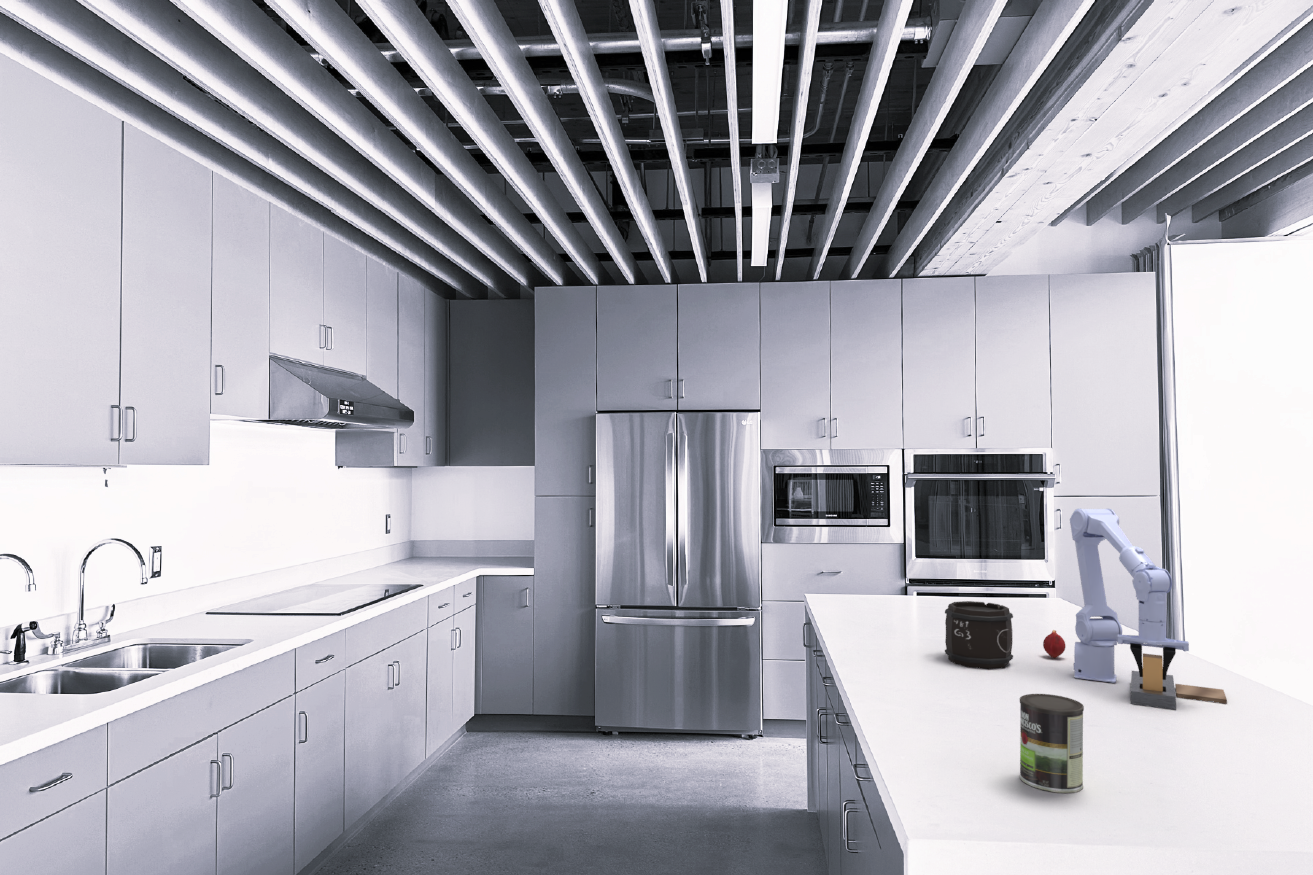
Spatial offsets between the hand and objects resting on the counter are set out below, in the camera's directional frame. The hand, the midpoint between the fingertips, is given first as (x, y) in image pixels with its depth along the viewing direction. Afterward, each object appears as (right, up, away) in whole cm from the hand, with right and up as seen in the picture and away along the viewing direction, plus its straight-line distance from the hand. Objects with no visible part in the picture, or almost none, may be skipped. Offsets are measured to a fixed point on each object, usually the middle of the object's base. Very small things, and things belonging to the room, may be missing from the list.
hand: (1152, 677), depth 199 cm
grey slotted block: (+3, -6, +4) cm, 7 cm away
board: (+14, -6, +4) cm, 16 cm away
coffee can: (-48, -4, -51) cm, 70 cm away
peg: (0, -4, 0) cm, 4 cm away
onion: (-4, -7, +41) cm, 42 cm away
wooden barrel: (-27, -6, +37) cm, 46 cm away
